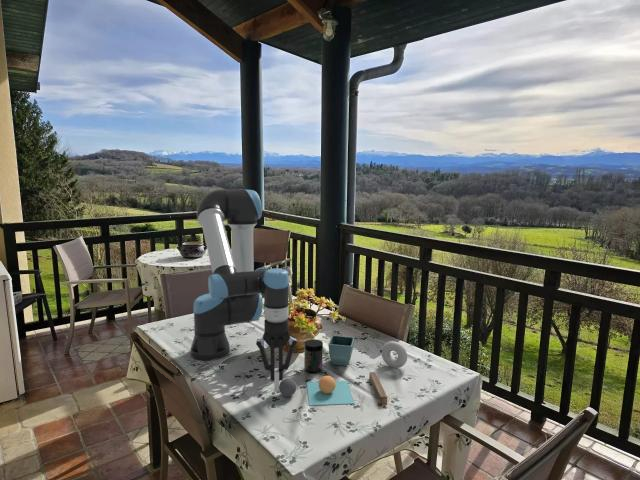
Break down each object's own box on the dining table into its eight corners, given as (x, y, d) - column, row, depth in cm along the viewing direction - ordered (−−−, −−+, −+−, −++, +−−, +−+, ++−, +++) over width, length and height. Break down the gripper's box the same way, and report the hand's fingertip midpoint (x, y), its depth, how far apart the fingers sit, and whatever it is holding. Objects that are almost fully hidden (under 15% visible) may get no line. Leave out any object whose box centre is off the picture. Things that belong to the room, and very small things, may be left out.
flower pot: (351, 369, 143) (351, 346, 142) (327, 367, 145) (328, 344, 143) (354, 359, 151) (354, 337, 150) (331, 356, 153) (332, 335, 152)
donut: (408, 369, 144) (409, 343, 142) (404, 372, 141) (405, 346, 139) (383, 362, 149) (384, 337, 148) (379, 365, 146) (380, 340, 145)
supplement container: (318, 376, 138) (318, 348, 136) (301, 372, 140) (301, 344, 139) (325, 368, 144) (325, 341, 142) (308, 364, 146) (308, 338, 145)
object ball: (331, 377, 123) (340, 391, 124) (328, 369, 129) (336, 382, 130) (316, 386, 123) (325, 400, 124) (314, 378, 128) (322, 391, 129)
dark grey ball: (291, 381, 121) (298, 396, 122) (292, 372, 127) (299, 386, 128) (275, 387, 122) (282, 402, 122) (277, 378, 127) (284, 392, 128)
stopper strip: (380, 404, 120) (380, 396, 120) (369, 378, 136) (369, 372, 136) (387, 404, 120) (387, 396, 120) (374, 378, 136) (375, 371, 136)
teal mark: (309, 405, 119) (309, 405, 119) (306, 382, 133) (306, 382, 133) (354, 403, 120) (354, 403, 120) (347, 381, 134) (347, 380, 134)
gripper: (254, 323, 117) (255, 396, 121) (297, 322, 118) (297, 394, 122) (256, 315, 125) (257, 384, 128) (296, 314, 126) (296, 382, 129)
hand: (276, 389), depth 125 cm, fingers closed
